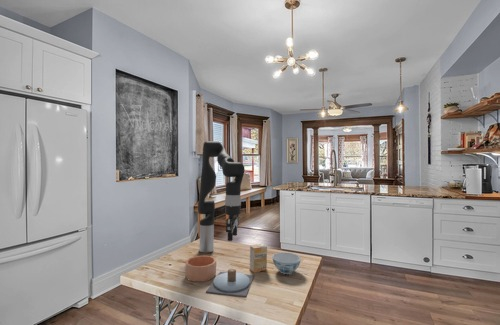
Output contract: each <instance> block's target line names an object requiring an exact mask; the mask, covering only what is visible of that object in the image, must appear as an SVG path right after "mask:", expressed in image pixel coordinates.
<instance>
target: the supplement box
mask: <svg viewBox="0 0 500 325" xmlns="http://www.w3.org/2000/svg"><path fill="white" fill-rule="evenodd" d="M267 258H268V246H267V245H266V244H264V243H261V244H255V245H254V244H253V245H250V246H249V270H250V271H251V272H252V273H258V272H259V273H260V272H261V271H262V272H263V271H267V270H268V269H267V267H268V266H267V263H268V262H267V260H268V259H267Z"/></svg>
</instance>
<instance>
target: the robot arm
mask: <svg viewBox="0 0 500 325" xmlns="http://www.w3.org/2000/svg"><path fill="white" fill-rule="evenodd" d="M210 158H216V161H217V163H218V165H219V166H220V167H221V170H222V174H223V176H224V177H226V178H234V180H232V181H228V182H227V183H226V185H225V199H224V203H225V204H224V214H225V215H228V218H226V220H225V222H226V223H225V224H226V225H225V233H227V241H228V242H232V241H233V238H234V237H233V236H237V235H238V227H239V224H240V223H239V222H240V221H239V215H241V212H242V210H241V209H242V208H241V207H242V196H241V194H242V193H241V187H242V183H243V182H242V181H243V179H244V175H245V170H246V169H245V165H244V163H243V162H240V161H239V162H236V161H235V160H234V158H232V157H231V155H229V154H228V152H227V150H226V149H225V147H224V145H223V143H222V142H221V141H217V140H215V141H213V140H212V141H211V140H209V141H204V143H203V145H202V167H201V174H200V186H199V197H198V203H197V212H198V214H199V215H207V216H206V217H203V218H202V219H200V220H199V245H198V246H199V250H198V251H199V252H200V253H203V254H204V253H205V254H207V253H212V252H213V251H215V250H214V246H215V245H214V243H215V242H214V241H215V238H214V236H215V210H216V209H215V208H216V203H215V201H214V199H206V198H207V196H208V195H209V194H210V193H211V192H212V190H214V188H215V186H216V182H217V181H216V180H217V175H216V172H215V170H214V168H213V167H212V166H211V163H210Z"/></svg>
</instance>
